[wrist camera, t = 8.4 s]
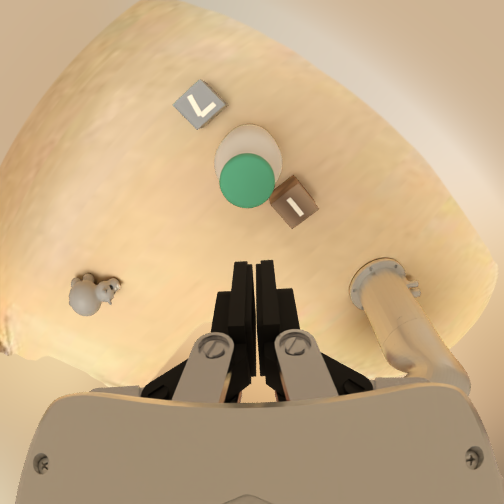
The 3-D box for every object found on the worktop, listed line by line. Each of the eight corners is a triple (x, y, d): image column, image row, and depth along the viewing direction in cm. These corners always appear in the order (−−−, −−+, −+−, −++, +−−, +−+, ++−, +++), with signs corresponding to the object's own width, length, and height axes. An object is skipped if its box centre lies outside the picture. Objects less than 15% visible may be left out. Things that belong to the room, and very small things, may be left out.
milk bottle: (221, 125, 37) (195, 140, 20) (274, 123, 37) (294, 135, 20) (225, 174, 41) (204, 228, 24) (275, 172, 41) (294, 225, 24)
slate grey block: (205, 82, 34) (199, 79, 30) (228, 105, 36) (225, 104, 31) (181, 105, 36) (171, 105, 31) (203, 127, 38) (196, 129, 33)
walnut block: (293, 174, 41) (298, 183, 37) (312, 198, 43) (319, 209, 39) (268, 194, 43) (270, 205, 38) (287, 216, 45) (292, 229, 40)
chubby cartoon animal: (126, 288, 55) (127, 312, 49) (80, 302, 52) (76, 326, 45) (115, 260, 52) (114, 283, 45) (67, 275, 48) (60, 299, 42)
